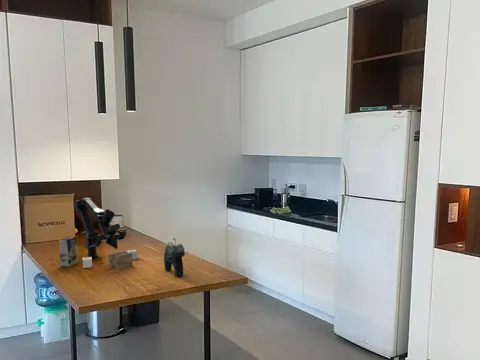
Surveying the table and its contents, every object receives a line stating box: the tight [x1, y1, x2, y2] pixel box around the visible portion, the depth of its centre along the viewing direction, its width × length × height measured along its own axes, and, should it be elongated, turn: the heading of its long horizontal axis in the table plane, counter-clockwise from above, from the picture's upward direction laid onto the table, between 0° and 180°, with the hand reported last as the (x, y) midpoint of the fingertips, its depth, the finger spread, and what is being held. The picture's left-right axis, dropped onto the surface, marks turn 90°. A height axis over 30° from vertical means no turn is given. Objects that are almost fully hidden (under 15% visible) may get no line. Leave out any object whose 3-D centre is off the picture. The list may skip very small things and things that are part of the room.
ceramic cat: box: [163, 238, 186, 279], centre depth 241 cm, size 20×6×20 cm, turn 32°
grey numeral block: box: [127, 249, 138, 261], centre depth 277 cm, size 5×5×5 cm
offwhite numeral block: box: [82, 256, 93, 269], centre depth 261 cm, size 5×5×5 cm
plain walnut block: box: [107, 250, 133, 270], centre depth 261 cm, size 10×10×8 cm
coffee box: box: [58, 236, 79, 267], centre depth 266 cm, size 9×6×16 cm
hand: (116, 248), depth 263 cm, fingers closed
